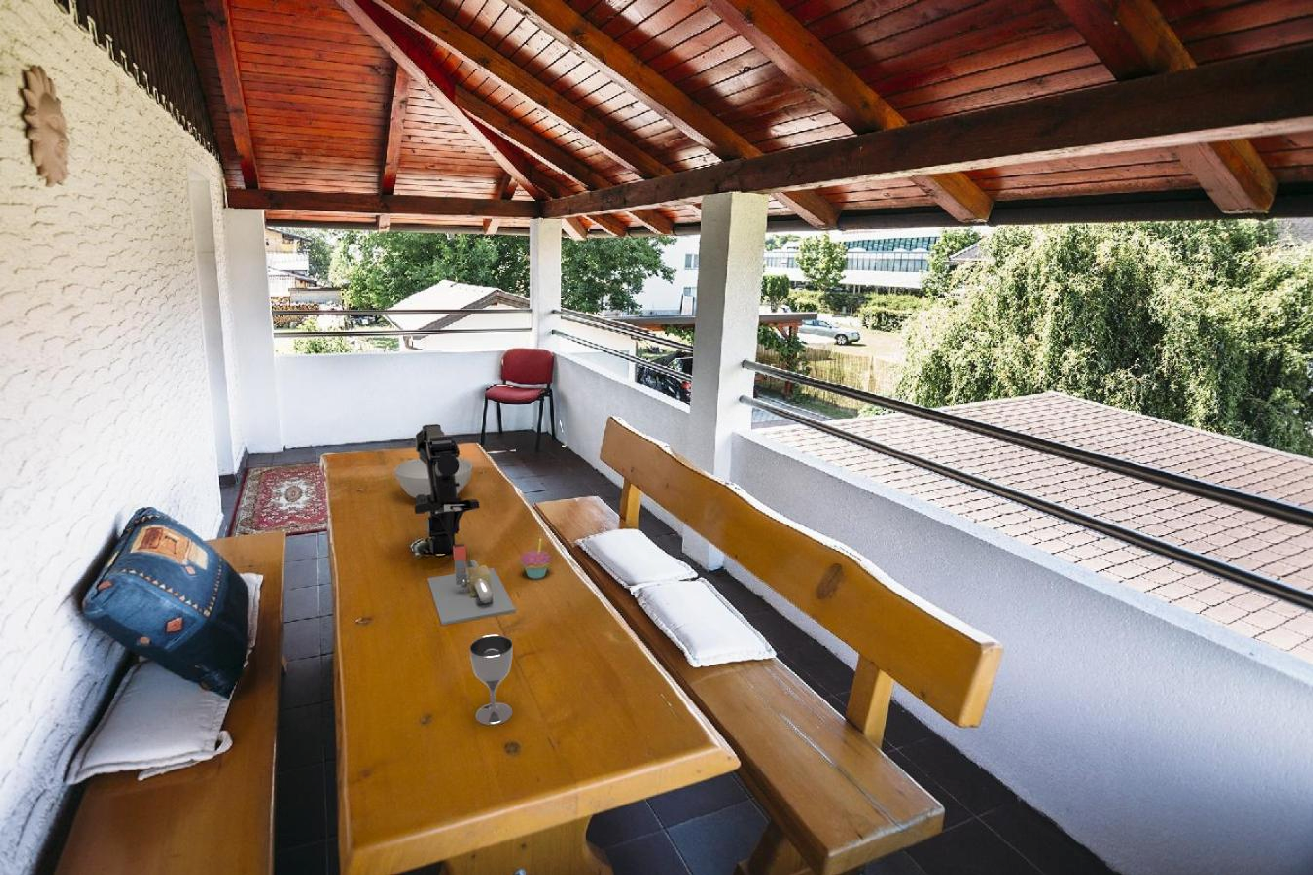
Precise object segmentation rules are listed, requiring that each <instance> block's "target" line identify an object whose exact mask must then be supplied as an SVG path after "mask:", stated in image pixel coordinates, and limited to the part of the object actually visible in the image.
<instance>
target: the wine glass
mask: <svg viewBox="0 0 1313 875" xmlns="http://www.w3.org/2000/svg"><path fill="white" fill-rule="evenodd" d="M469 657H470V663H471V668H472V671H473V673H474V675H475V677H476V678H477V679H478V680H479V681H481V682H482V683H483V684H484V685H486V686H487V688H488V689H489V694H490V699H491V700H490V702H489V703H486V704H484V705H482V706H480V707H479V708H478V709H477V710H476V713H475V720H476V721H477V722H478V723H480V724H483V725H486V726H495V725H499V724H500V725H501V724H503V723H505V722H507V721H508V720H509V719H510V718H512V717H511V716H513V709H512V707H511V706H510V705H509V704H507V703H504V702H499V701H497V702H496V698H497V697H496V694H497V688H498V687H499V684H500V683H501V682H502V681H503V680H504V679H505V678H506V677H507V675H508V674H509V673H510V670H511V667H512V660H513V642H512V640H511V639H510V638H509V637H507V636H505V635H500V634H489V635H483V636H481V637H479V638H477V639H474V640H473V641H472V642H471V644H470V646H469Z"/></svg>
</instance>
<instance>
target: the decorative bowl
mask: <svg viewBox="0 0 1313 875" xmlns="http://www.w3.org/2000/svg"><path fill="white" fill-rule="evenodd" d="M457 460H458V461H459V470H458V471H457V473H456V474H455V478H456V483H459V484H460V487H457V494H459V493H460V492H461V491H462V490H463V489H464V488H465V486H466V485H467V483H468V481H469V479H470V477H471V474H472V472H473V465H474V464H473V463H472V462H471V461H470V460H468V459H465V458H461V457H458V458H457ZM393 469H394V470H393V473H394V475H395V478H396V481H397V482H398V484H399V486H400V487H401V488H402V489H403V490H404V492H406V493H407V494H408V495H410V496H411V497H412V498H414V499H416V496H418V495H419V494H425V495H430V494H431V492H430V486H429V480H428V473H427V467H426V464H425V463H424V462H423V461H422V460H420V457H418V458H413V459H409V460H407V461H403V462H401V463H399V464H397V465H396V466H395V467H394V468H393Z"/></svg>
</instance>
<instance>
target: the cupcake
mask: <svg viewBox="0 0 1313 875" xmlns="http://www.w3.org/2000/svg"><path fill="white" fill-rule="evenodd" d="M542 541H543V540H542V537H540V538H539V540H538V547H537V550H536V549H532V550H528V551H526V552H525V553H523V554H522V555H521V557H520V560H519V564H520V566H521V567H522V568H524V570H525V571H526V575H527V577H528V578H530V579H534V580H535V579H537V580H538V579H542V578H543V577H545V575H546V572H547V570H548V567H549V566H550V565H551V562H552V557H551V556H550V554H549V553H547V551H544V550H542V549H541V547H542Z"/></svg>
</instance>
